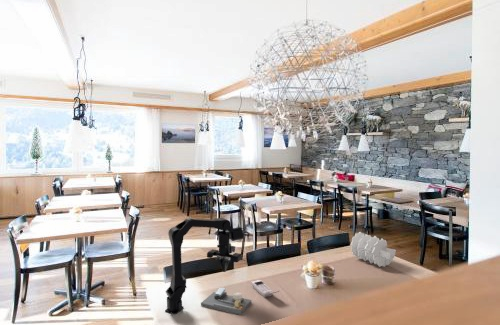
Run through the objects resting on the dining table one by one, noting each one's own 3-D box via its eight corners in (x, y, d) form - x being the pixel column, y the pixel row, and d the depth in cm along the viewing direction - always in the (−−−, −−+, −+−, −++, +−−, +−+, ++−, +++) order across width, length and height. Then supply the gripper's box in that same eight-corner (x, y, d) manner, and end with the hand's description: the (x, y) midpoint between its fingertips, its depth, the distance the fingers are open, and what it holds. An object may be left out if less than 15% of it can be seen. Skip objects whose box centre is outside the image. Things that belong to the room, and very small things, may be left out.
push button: (231, 300, 152) (231, 296, 152) (236, 296, 156) (235, 292, 156) (239, 302, 150) (239, 297, 150) (243, 298, 154) (243, 293, 154)
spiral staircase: (382, 275, 190) (351, 261, 212) (399, 259, 197) (368, 246, 219) (374, 252, 185) (344, 239, 207) (392, 236, 191) (361, 225, 213)
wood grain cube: (234, 308, 146) (234, 302, 145) (237, 305, 148) (237, 299, 148) (238, 309, 145) (238, 302, 145) (240, 306, 147) (240, 300, 147)
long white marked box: (270, 293, 151) (248, 274, 174) (270, 304, 151) (248, 284, 174) (280, 290, 154) (258, 272, 176) (280, 302, 154) (258, 282, 177)
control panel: (201, 305, 152) (200, 300, 152) (213, 294, 163) (213, 289, 162) (240, 315, 142) (240, 308, 142) (251, 302, 153) (251, 297, 153)
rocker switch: (215, 295, 156) (215, 293, 155) (220, 288, 160) (220, 287, 160) (220, 296, 154) (220, 294, 154) (225, 289, 159) (225, 288, 159)
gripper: (246, 240, 163) (247, 268, 164) (217, 236, 172) (217, 263, 172) (236, 246, 153) (237, 276, 154) (205, 241, 162) (206, 270, 163)
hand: (224, 271), depth 161 cm, fingers closed
